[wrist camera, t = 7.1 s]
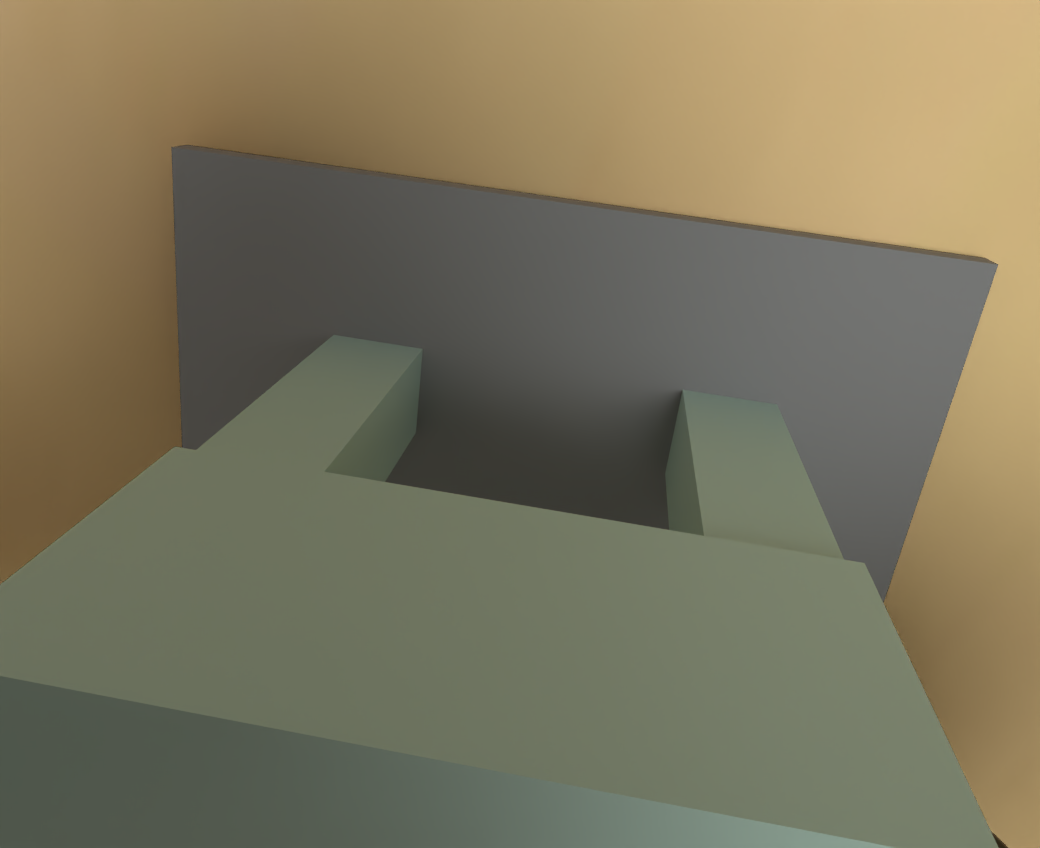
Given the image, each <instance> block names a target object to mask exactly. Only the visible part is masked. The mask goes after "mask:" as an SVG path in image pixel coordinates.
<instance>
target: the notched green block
mask: <svg viewBox="0 0 1040 848" xmlns="http://www.w3.org/2000/svg"><path fill="white" fill-rule="evenodd" d="M422 352H423V349H421V348H414V347H408V346H402V345H395V344H389V343H382V342H376V341H370V340H363V339H357V338H351V337H344V336H338V335H333V336H332V337H331V338H329V339H328V340H327V341H326V342H325V343H323V344H322V345H321V346H320V347H319V348H317V349H316V350H315V351H314V352H313V353H311V354H310V355H309V356H308V357H307V358H305V359H304V360H303V361H302V362H301V363H299V364H298V365H297V366H296V367H295V368H293V369H292V370H291V371H290V372H289V373H288V374H286V375H285V376H284V377H283V378H282V379H280V380H279V381H278V382H277V383H276V384H274V385H273V386H272V387H271V388H270V389H268V390H267V391H266V392H265V393H264V394H262V395H261V396H260V397H259V398H258V399H256V400H255V401H254V402H253V403H252V404H250V405H249V406H248V407H247V408H246V409H245V410H243V411H242V412H241V413H240V414H239V415H237V416H236V417H235V418H234V419H233V420H231V421H230V422H229V423H228V424H227V425H225V426H224V427H223V428H222V429H221V430H219V431H218V432H217V433H216V434H215V435H213V436H212V437H211V438H210V439H209V440H207V441H206V442H205V443H204V444H203V445H202V446H200V447H199V448H198V449H197V450H193V449H187V448H181V447H173V448H172V449H171V450H170V451H168V452H167V453H166V454H165V455H163V456H162V457H161V458H160V459H158V460H157V461H156V462H155V463H153V464H152V465H151V466H149V467H148V468H147V469H146V470H144V471H143V472H142V473H141V474H139V475H138V476H137V477H136V478H134V479H133V480H132V481H130V482H129V483H128V484H127V485H125V486H124V487H123V488H122V489H120V490H119V491H118V492H117V493H115V494H114V495H113V496H112V497H110V498H109V499H108V500H106V501H105V502H104V503H103V504H101V505H100V506H99V507H98V508H96V509H95V510H94V511H93V512H91V513H90V514H89V515H87V516H86V517H85V518H84V519H82V520H81V521H80V522H79V523H77V524H76V525H75V526H74V527H72V528H71V529H70V530H69V531H67V532H66V533H65V534H63V535H62V536H61V537H60V538H58V539H57V540H56V541H55V542H53V543H52V544H51V545H50V546H48V547H47V548H46V549H44V550H43V551H42V552H41V553H39V554H38V555H37V556H36V557H34V558H33V559H32V560H31V561H29V562H28V563H27V564H26V565H24V566H23V567H22V568H20V569H19V570H18V571H17V572H15V573H14V574H13V575H12V576H10V577H9V578H8V579H7V580H5V581H4V582H3V583H1V584H0V848H999V847H998V845H997V843H996V841H995V839H994V837H993V835H992V833H991V830H990V828H989V826H988V824H987V822H986V820H985V818H984V816H983V813H982V811H981V809H980V807H979V805H978V803H977V801H976V799H975V796H974V794H973V792H972V790H971V788H970V786H969V784H968V782H967V780H966V777H965V775H964V773H963V771H962V769H961V767H960V765H959V763H958V760H957V758H956V756H955V754H954V752H953V750H952V748H951V746H950V743H949V741H948V739H947V737H946V735H945V733H944V731H943V729H942V726H941V724H940V722H939V720H938V718H937V716H936V714H935V712H934V709H933V707H932V705H931V703H930V701H929V699H928V697H927V695H926V692H925V690H924V688H923V686H922V684H921V682H920V680H919V678H918V676H917V673H916V671H915V669H914V667H913V665H912V663H911V661H910V659H909V656H908V654H907V652H906V650H905V648H904V646H903V644H902V642H901V639H900V637H899V635H898V633H897V631H896V629H895V627H894V625H893V622H892V620H891V618H890V616H889V614H888V612H887V610H886V608H885V605H884V603H883V601H882V599H881V597H880V595H879V593H878V591H877V588H876V586H875V584H874V582H873V580H872V578H871V576H870V574H869V571H868V569H867V567H866V565H865V563H862V562H856V561H850V560H844V558H843V556H842V554H841V551H840V549H839V547H838V544H837V542H836V540H835V537H834V535H833V533H832V530H831V528H830V526H829V523H828V521H827V519H826V517H825V514H824V512H823V510H822V507H821V505H820V503H819V500H818V498H817V496H816V493H815V491H814V489H813V486H812V484H811V482H810V479H809V477H808V475H807V473H806V470H805V468H804V466H803V463H802V461H801V459H800V456H799V454H798V452H797V449H796V447H795V445H794V442H793V440H792V438H791V435H790V433H789V431H788V429H787V426H786V424H785V422H784V419H783V417H782V415H781V412H780V410H779V408H778V405H777V404H771V403H764V402H758V401H752V400H745V399H739V398H733V397H726V396H720V395H713V394H707V393H701V392H694V391H688V390H682V395H681V400H680V405H679V410H678V414H677V419H676V424H675V429H674V434H673V438H672V443H671V448H670V453H669V458H668V462H667V467H666V472H665V478H666V492H667V506H668V520H669V530H666V529H660V528H654V527H649V526H643V525H637V524H631V523H625V522H619V521H613V520H607V519H601V518H595V517H589V516H583V515H577V514H572V513H566V512H560V511H554V510H548V509H542V508H536V507H530V506H524V505H518V504H512V503H506V502H501V501H495V500H489V499H483V498H477V497H471V496H465V495H459V494H453V493H447V492H441V491H435V490H430V489H424V488H418V487H412V486H406V485H400V484H394V483H388V482H385V481H386V479H387V478H388V476H389V475H390V473H391V471H392V470H393V468H394V467H395V465H396V464H397V462H398V460H399V459H400V457H401V456H402V454H403V452H404V451H405V449H406V448H407V446H408V444H409V443H410V441H411V440H412V438H413V437H414V435H415V433H416V426H417V414H418V401H419V389H420V377H421V364H422Z"/></svg>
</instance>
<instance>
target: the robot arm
mask: <svg viewBox="0 0 1040 848" xmlns="http://www.w3.org/2000/svg"><path fill="white" fill-rule="evenodd" d="M991 833H992V832H991ZM992 835H993V837H994V839H995V841H996V843H997V845H998V847H999V848H1008V847H1007V846H1006V845H1005V844H1004V843H1003V842H1002V841H1001V840H1000V839H999V838H998V837H997V836H996V835H995V834H994V833H992Z"/></svg>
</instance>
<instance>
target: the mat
mask: <svg viewBox="0 0 1040 848" xmlns="http://www.w3.org/2000/svg"><path fill="white" fill-rule="evenodd" d="M172 173H173V201H174V230H175V258H176V287H177V315H178V343H179V372H180V400H181V429H182V448H187V449H193V450H197V449H198V448H199V447H200V446H202V445H203V444H204V443H205V442H206V441H207V440H209V439H210V438H211V437H212V436H213V435H215V434H216V433H217V432H218V431H219V430H221V429H222V428H223V427H224V426H225V425H227V424H228V423H229V422H230V421H231V420H233V419H234V418H235V417H236V416H237V415H239V414H240V413H241V412H242V411H243V410H245V409H246V408H247V407H248V406H249V405H250V404H252V403H253V402H254V401H255V400H256V399H258V398H259V397H260V396H261V395H262V394H264V393H265V392H266V391H267V390H268V389H270V388H271V387H272V386H273V385H274V384H276V383H277V382H278V381H279V380H280V379H282V378H283V377H284V376H285V375H286V374H288V373H289V372H290V371H291V370H292V369H293V368H295V367H296V366H297V365H298V364H299V363H301V362H302V361H303V360H304V359H305V358H307V357H308V356H309V355H310V354H311V353H313V352H314V351H315V350H316V349H317V348H319V347H320V346H321V345H322V344H323V343H325V342H326V341H327V340H328V339H329V338H331V337H332V336H333V335H338V336H344V337H351V338H357V339H363V340H370V341H376V342H382V343H389V344H395V345H402V346H408V347H414V348H421V349H423V352H422V364H421V377H420V389H419V401H418V414H417V426H416V433H415V435H414V437H413V438H412V440H411V441H410V443H409V444H408V446H407V448H406V449H405V451H404V452H403V454H402V456H401V457H400V459H399V460H398V462H397V464H396V465H395V467H394V468H393V470H392V471H391V473H390V475H389V476H388V478H387V479H386V481H385V482H388V483H394V484H400V485H406V486H412V487H418V488H424V489H430V490H435V491H441V492H447V493H453V494H459V495H465V496H471V497H477V498H483V499H489V500H495V501H501V502H506V503H512V504H518V505H524V506H530V507H536V508H542V509H548V510H554V511H560V512H566V513H572V514H577V515H583V516H589V517H595V518H601V519H607V520H613V521H619V522H625V523H631V524H637V525H643V526H649V527H654V528H660V529H666V530H669V520H668V506H667V492H666V478H665V472H666V467H667V462H668V458H669V453H670V448H671V443H672V438H673V434H674V429H675V424H676V419H677V414H678V410H679V405H680V400H681V395H682V390H688V391H694V392H701V393H707V394H713V395H720V396H726V397H733V398H739V399H745V400H752V401H758V402H764V403H771V404H777V405H778V408H779V410H780V412H781V415H782V417H783V419H784V422H785V424H786V426H787V429H788V431H789V433H790V435H791V438H792V440H793V442H794V445H795V447H796V449H797V452H798V454H799V456H800V459H801V461H802V463H803V466H804V468H805V470H806V473H807V475H808V477H809V479H810V482H811V484H812V486H813V489H814V491H815V493H816V496H817V498H818V500H819V503H820V505H821V507H822V510H823V512H824V514H825V517H826V519H827V521H828V523H829V526H830V528H831V530H832V533H833V535H834V537H835V540H836V542H837V544H838V547H839V549H840V551H841V554H842V556H843V558H844V560H850V561H856V562H862V563H865V565H866V567H867V569H868V571H869V574H870V576H871V578H872V580H873V582H874V584H875V586H876V588H877V591H878V593H879V595H880V597H881V599H882V601H883V603H884V600H885V597H886V594H887V591H888V588H889V585H890V582H891V579H892V576H893V573H894V570H895V567H896V564H897V561H898V558H899V555H900V552H901V549H902V547H903V544H904V541H905V538H906V535H907V532H908V529H909V526H910V523H911V520H912V517H913V514H914V511H915V508H916V505H917V502H918V499H919V496H920V493H921V490H922V488H923V485H924V482H925V479H926V476H927V473H928V470H929V467H930V464H931V461H932V458H933V455H934V452H935V449H936V446H937V443H938V440H939V437H940V434H941V432H942V429H943V426H944V423H945V420H946V417H947V414H948V411H949V408H950V405H951V402H952V399H953V396H954V393H955V390H956V387H957V384H958V381H959V378H960V375H961V373H962V370H963V367H964V364H965V361H966V358H967V355H968V352H969V349H970V346H971V343H972V340H973V337H974V334H975V331H976V328H977V325H978V322H979V319H980V316H981V314H982V311H983V308H984V305H985V302H986V299H987V296H988V293H989V290H990V287H991V284H992V281H993V278H994V275H995V272H996V269H997V266H998V264H996V263H994V262H992V261H990V260H988V259H986V258H981V257H974V256H967V255H960V254H953V253H946V252H939V251H932V250H925V249H918V248H911V247H904V246H897V245H889V244H882V243H875V242H868V241H861V240H854V239H847V238H840V237H833V236H826V235H819V234H812V233H805V232H798V231H791V230H784V229H777V228H770V227H762V226H755V225H748V224H741V223H734V222H727V221H720V220H713V219H706V218H699V217H692V216H685V215H678V214H671V213H664V212H657V211H650V210H643V209H635V208H628V207H621V206H614V205H607V204H600V203H593V202H586V201H579V200H572V199H565V198H558V197H551V196H544V195H537V194H530V193H523V192H515V191H508V190H501V189H494V188H487V187H480V186H473V185H466V184H459V183H452V182H445V181H438V180H431V179H424V178H417V177H410V176H403V175H396V174H388V173H381V172H374V171H367V170H360V169H353V168H346V167H339V166H332V165H325V164H318V163H311V162H304V161H297V160H290V159H283V158H276V157H269V156H261V155H254V154H247V153H240V152H233V151H226V150H219V149H212V148H205V147H198V146H191V145H184V146H177V147H172Z"/></svg>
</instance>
